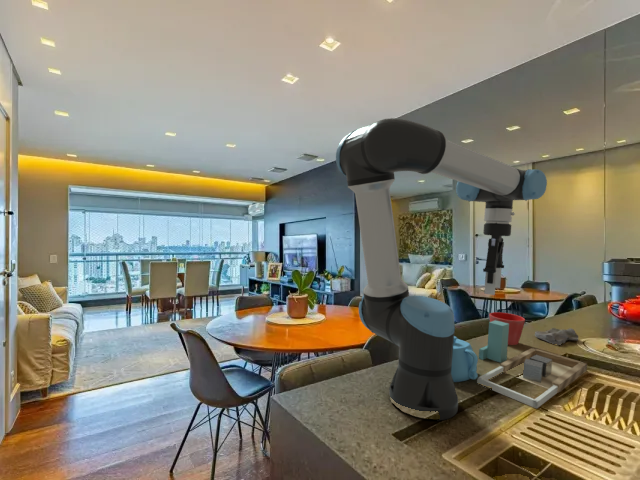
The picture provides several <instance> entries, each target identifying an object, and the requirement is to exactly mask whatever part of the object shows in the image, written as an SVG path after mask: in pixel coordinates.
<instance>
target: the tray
mask: <svg viewBox="0 0 640 480" xmlns="http://www.w3.org/2000/svg"><path fill="white" fill-rule="evenodd" d="M503 368H504V367H502V366H500V365H499V366H498V367H496V368H494V369H492V370H490V371H488V372H486V373H484V374H482V375H480V376H478V377H477V378H476V379H477V380H476V384H477V383H480V384H483V385H486V386H490V387H492V390H491V391H494V392H496V393H498V394H501V395H503V396H506V397H508V398H510V399H513V400H515V401H518V402H520V403H522V404H525V405H527V406H529V407H531V408H534V409H538V408H540V407H542V405H543V404H545V403H546V402H548V401H549V400H550V399H551V398H553V397H554V396H555V395H557V391H558V386H555V385H554V386H552V387H551V388H549V389H547V390H545V391H543V392H542V394H540V395H539V396H537V397H536V398H532V397H530V396H527V395H525V394H523V393H520V392H518V391H515V390H513V389H510V388H508V387H505V386H502V385H501V384H497V383H495V382H492V381H490V380H491V379H490V378H492V377H494V376H496V375H497V374H499V373H501V372H503ZM501 374H502V373H501ZM496 377H497V376H496ZM494 378H495V377H494ZM488 379H490V380H488ZM492 379H493V378H492Z"/></svg>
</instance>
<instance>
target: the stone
mask: <svg viewBox="0 0 640 480" xmlns="http://www.w3.org/2000/svg"><path fill="white" fill-rule="evenodd" d="M534 331H535V330H534ZM534 336H535V337H536V338H537V339H540V340H542V341H545V342H547V343H549V344H551V343H552V345H553V344H557V345H561V344H562V343H563V344H566V342H567V341H575V342H576V341H577V342H578V341H579V335H578V334H577V333H576V331H575V330H574V329H573V328H570V327H569V328H568V329H559V328H555V327H552V328H550V329H548V330H545V331H540V330H539V331H538V330H537V331H535V332H534ZM563 344H562V345H563ZM557 345H556V346H557ZM562 345H561V346H562Z"/></svg>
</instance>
